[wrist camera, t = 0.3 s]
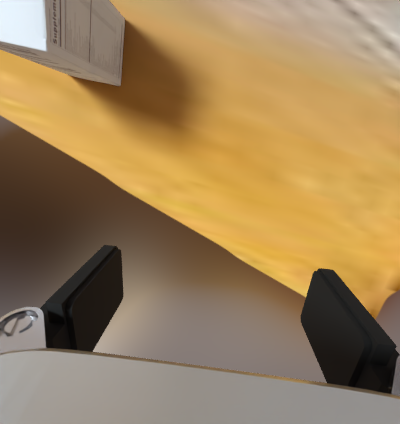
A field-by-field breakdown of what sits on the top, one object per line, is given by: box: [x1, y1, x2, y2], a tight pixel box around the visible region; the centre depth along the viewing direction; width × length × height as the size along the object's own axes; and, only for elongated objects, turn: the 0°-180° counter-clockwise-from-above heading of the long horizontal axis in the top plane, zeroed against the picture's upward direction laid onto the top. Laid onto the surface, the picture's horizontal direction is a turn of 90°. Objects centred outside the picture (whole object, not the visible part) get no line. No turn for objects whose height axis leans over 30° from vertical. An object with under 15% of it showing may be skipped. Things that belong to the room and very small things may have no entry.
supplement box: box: [0, 0, 125, 86], centre depth 27 cm, size 10×9×17 cm
